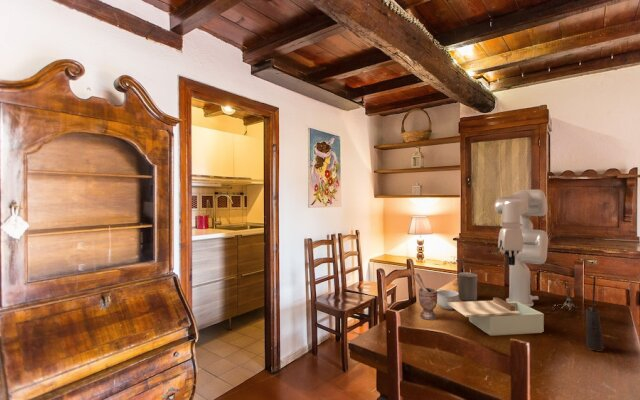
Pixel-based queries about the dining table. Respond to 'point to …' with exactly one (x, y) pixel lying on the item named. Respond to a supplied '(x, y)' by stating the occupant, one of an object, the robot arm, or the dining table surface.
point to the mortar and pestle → (426, 299)
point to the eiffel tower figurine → (568, 301)
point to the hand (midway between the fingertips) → (510, 264)
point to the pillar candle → (467, 286)
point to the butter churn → (593, 327)
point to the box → (511, 322)
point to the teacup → (447, 298)
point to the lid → (484, 308)
